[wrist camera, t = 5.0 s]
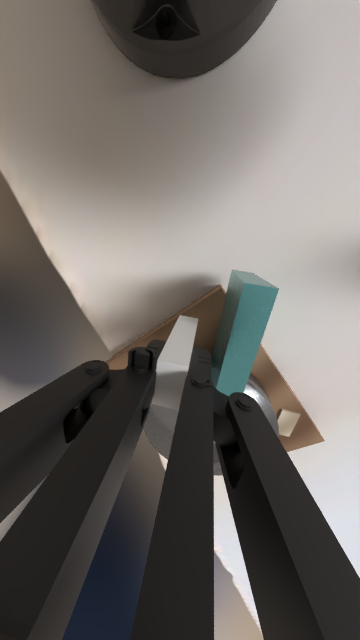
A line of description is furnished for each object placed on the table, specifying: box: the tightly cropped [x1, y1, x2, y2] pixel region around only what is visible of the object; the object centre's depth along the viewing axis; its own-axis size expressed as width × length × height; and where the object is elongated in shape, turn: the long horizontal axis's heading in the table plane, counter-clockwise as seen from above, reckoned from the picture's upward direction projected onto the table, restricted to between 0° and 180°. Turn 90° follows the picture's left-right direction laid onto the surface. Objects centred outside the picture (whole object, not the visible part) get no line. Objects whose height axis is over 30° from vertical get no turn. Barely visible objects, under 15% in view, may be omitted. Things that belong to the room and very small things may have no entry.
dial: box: [143, 270, 279, 475], centre depth 18 cm, size 23×14×7 cm, turn 171°
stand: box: [106, 285, 324, 452], centre depth 24 cm, size 22×18×2 cm
